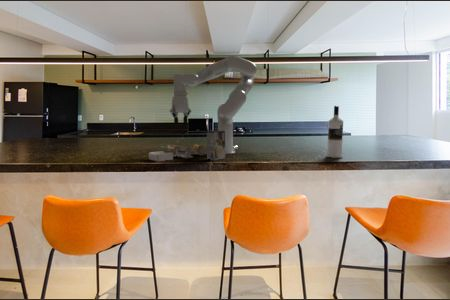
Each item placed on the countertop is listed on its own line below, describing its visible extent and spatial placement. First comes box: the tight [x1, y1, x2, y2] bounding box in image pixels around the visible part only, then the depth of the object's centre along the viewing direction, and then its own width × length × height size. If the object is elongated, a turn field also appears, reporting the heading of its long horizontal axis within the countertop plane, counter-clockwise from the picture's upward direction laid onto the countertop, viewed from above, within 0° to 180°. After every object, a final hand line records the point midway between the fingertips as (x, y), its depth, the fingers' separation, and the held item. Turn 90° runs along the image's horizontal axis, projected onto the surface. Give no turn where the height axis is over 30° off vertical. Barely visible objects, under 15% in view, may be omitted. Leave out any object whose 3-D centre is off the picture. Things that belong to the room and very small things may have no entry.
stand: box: [164, 150, 203, 159], centre depth 187 cm, size 21×17×4 cm
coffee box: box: [206, 130, 226, 161], centre depth 175 cm, size 9×6×16 cm
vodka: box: [325, 105, 344, 159], centre depth 179 cm, size 9×9×30 cm
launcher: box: [160, 144, 204, 154], centre depth 188 cm, size 21×14×4 cm
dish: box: [148, 150, 174, 163], centre depth 174 cm, size 10×10×4 cm
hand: (180, 123), depth 192 cm, fingers open, 6 cm apart
